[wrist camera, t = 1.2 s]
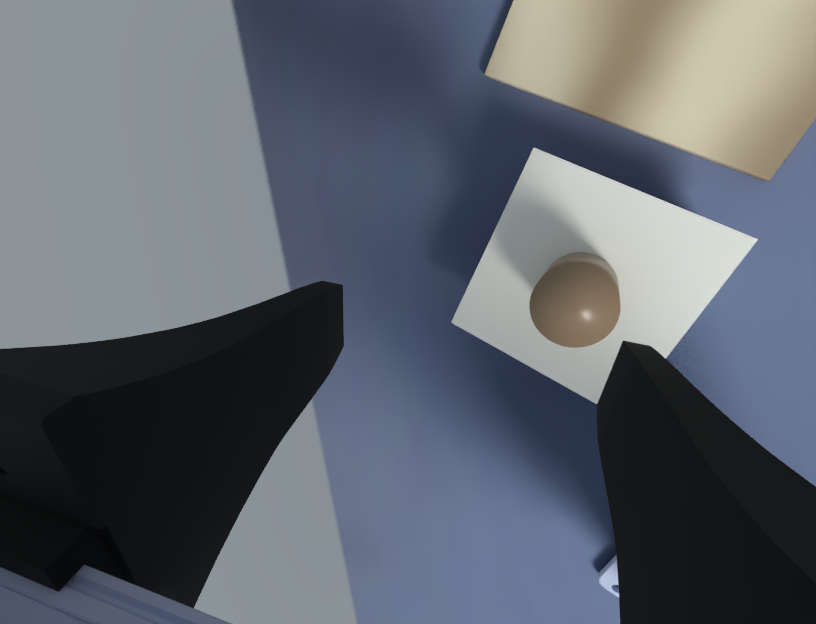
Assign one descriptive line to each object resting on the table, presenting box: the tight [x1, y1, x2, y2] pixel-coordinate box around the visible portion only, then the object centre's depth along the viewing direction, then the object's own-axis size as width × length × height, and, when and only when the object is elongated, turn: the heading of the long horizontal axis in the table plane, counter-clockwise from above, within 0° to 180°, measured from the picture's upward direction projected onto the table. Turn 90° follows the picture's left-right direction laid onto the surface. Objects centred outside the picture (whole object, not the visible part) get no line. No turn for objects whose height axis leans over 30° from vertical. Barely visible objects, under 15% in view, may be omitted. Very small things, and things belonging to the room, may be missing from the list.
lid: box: [451, 148, 758, 404], centre depth 16 cm, size 8×8×5 cm
